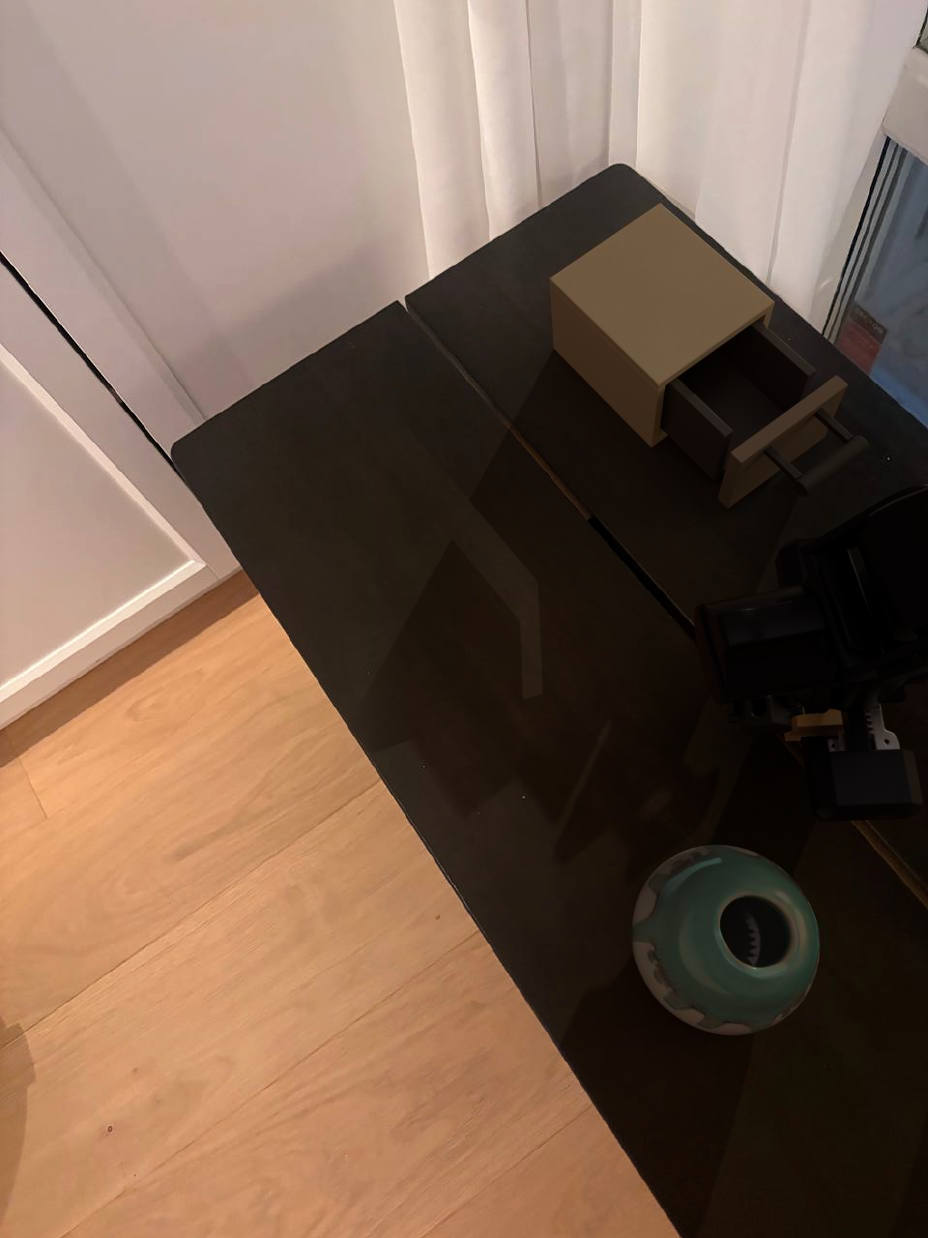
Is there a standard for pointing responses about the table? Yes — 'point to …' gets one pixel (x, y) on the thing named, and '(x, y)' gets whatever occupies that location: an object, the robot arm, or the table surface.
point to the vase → (725, 939)
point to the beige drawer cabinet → (648, 313)
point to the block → (815, 725)
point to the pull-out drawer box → (756, 415)
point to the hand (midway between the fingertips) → (815, 706)
